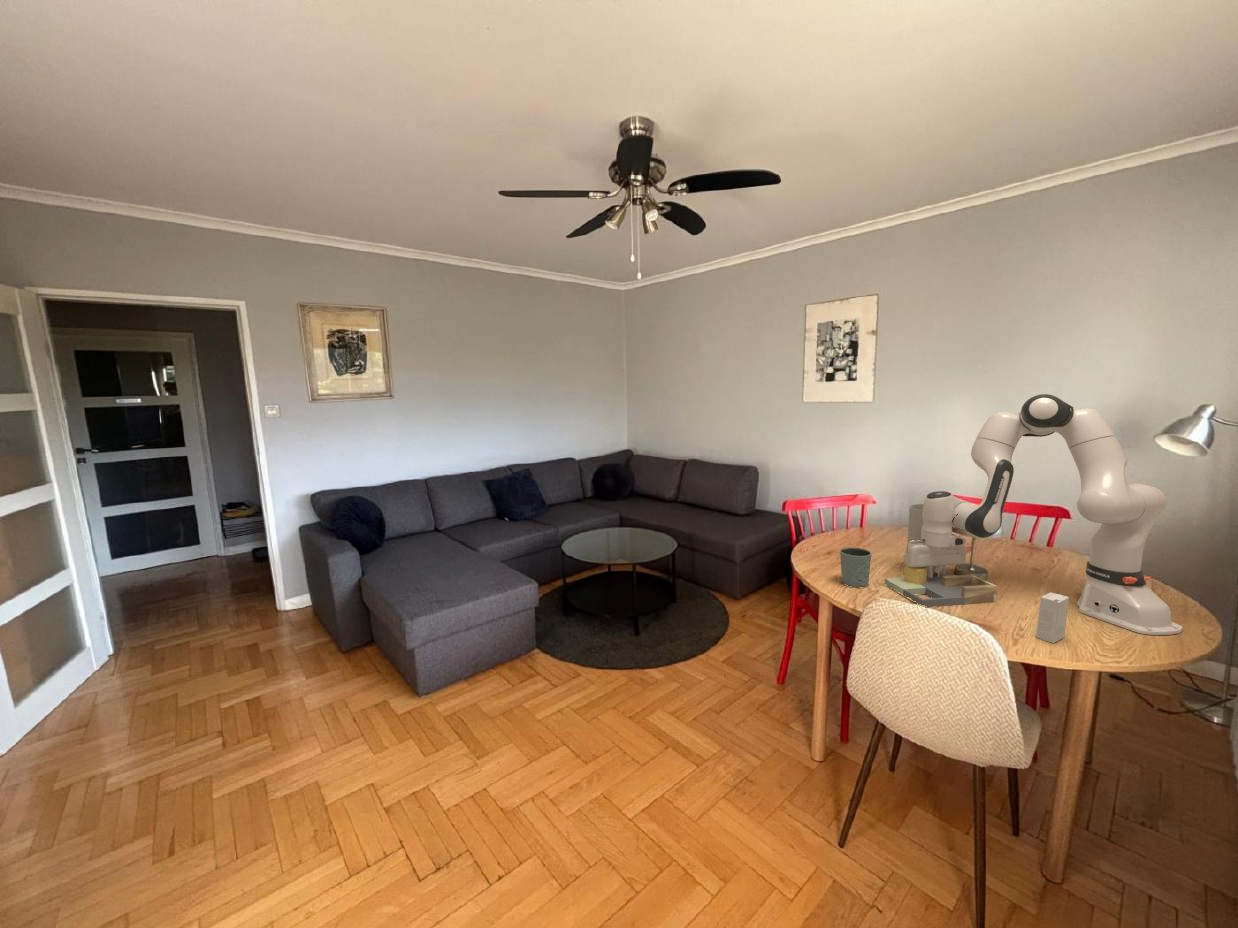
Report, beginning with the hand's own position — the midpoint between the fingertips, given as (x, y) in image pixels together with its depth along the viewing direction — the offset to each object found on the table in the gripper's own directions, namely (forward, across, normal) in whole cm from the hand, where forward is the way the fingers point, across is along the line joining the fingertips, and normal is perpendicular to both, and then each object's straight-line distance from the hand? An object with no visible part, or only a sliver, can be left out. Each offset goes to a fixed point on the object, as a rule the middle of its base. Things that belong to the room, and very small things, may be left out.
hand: (933, 577), depth 172 cm
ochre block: (+1, -6, +1) cm, 6 cm away
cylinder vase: (+4, +7, +13) cm, 15 cm away
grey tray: (+4, -2, -5) cm, 6 cm away
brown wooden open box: (+4, +5, -9) cm, 11 cm away
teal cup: (+4, -24, +8) cm, 26 cm away
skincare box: (+4, +6, -37) cm, 38 cm away
